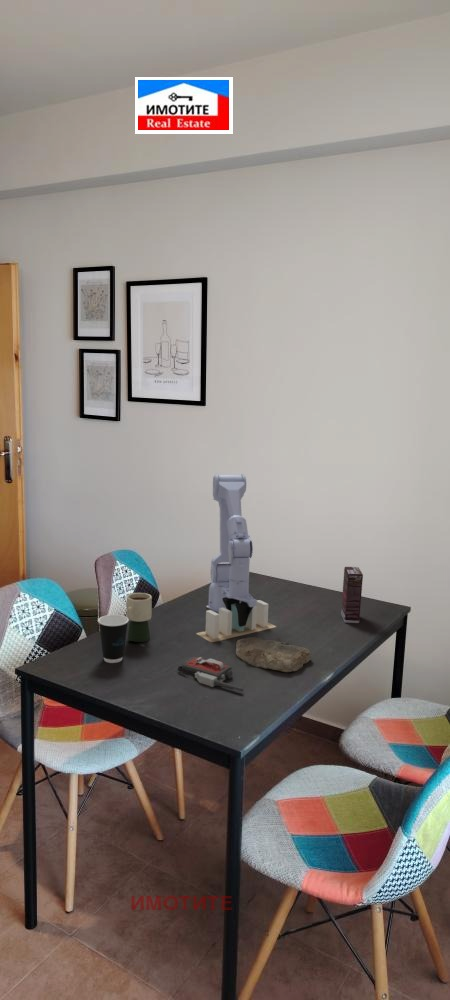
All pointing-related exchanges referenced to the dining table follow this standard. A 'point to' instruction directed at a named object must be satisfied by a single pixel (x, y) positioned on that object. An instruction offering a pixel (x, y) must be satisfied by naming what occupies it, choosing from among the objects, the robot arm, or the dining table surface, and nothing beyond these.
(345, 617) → the supplement box
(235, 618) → the teal domino
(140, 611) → the character mug
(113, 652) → the dixie cup
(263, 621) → the domino
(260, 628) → the oak board
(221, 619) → the domino
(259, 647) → the rough brown rock
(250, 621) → the domino
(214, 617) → the domino
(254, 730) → the dining table surface
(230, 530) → the robot arm
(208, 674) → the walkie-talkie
